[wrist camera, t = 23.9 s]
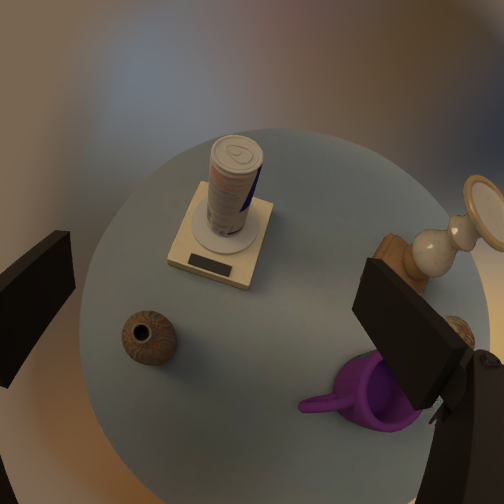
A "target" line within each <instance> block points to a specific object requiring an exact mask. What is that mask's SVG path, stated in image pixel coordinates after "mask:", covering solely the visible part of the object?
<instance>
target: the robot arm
mask: <svg viewBox="0 0 504 504" xmlns="http://www.w3.org/2000/svg"><path fill="white" fill-rule="evenodd" d="M75 288H76V287H75V279H74V271H73V263H72V253H71V242H70V231H59V230H55V231H54V232H52V233H51V234H50V235H48V236H47V237H46V238H44V239H43V240H42V241H41V242H39V243H38V244H37V245H35V246H34V247H33V248H32V249H30V250H29V251H28V252H27V253H25V254H24V255H23V256H22V257H20V258H19V259H18V260H17V261H15V262H14V263H13V264H12V265H11V266H9V267H8V268H7V269H6V270H5V271H4V272H2V273H1V274H0V386H2V387H5V388H7V389H8V387H9V386H10V384H11V382H12V381H13V379H14V377H15V376H16V374H17V372H18V371H19V369H20V368H21V366H22V364H23V363H24V361H25V360H26V358H27V356H28V355H29V353H30V352H31V350H32V349H33V347H34V346H35V344H36V343H37V341H38V340H39V338H40V336H41V335H42V334H43V332H44V331H45V329H46V328H47V326H48V325H49V324H50V322H51V321H52V319H53V318H54V317H55V315H56V314H57V312H58V311H59V310H60V308H61V307H62V305H63V304H64V303H65V301H66V300H67V299H68V297H69V296H70V295H71V293H72V292H73V290H75ZM352 311H353V312H354V314H355V315H356V317H357V319H358V320H359V322H360V323H361V325H362V326H363V328H364V329H365V331H366V332H367V334H368V335H369V337H370V339H371V340H372V342H373V343H374V345H375V346H376V348H377V350H378V351H379V353H380V354H381V356H382V358H383V359H384V361H385V362H386V364H387V366H388V367H389V369H390V370H391V372H392V374H393V375H394V377H395V379H396V380H397V382H398V383H399V385H400V387H401V388H402V390H403V392H404V393H405V395H406V397H407V398H408V400H409V402H410V404H411V405H412V407H413V409H414V410H415V411H419V410H423V409H427V408H431V407H432V405H433V404H434V403H435V401H436V400H437V398H438V397H439V395H440V396H441V398H442V399H443V403H442V404H441V406H440V407H439V409H438V410H437V411H436V413H435V414H434V415H433V417H432V418H431V419H430V421H429V424H432V422H433V421H434V420H435V419H437V422H436V424H435V426H436V427H435V432H434V436H433V441H432V445H431V449H430V453H429V457H428V461H427V465H426V469H425V472H424V476H423V479H422V482H421V486H420V489H419V492H418V495H417V498H416V501H415V504H504V365H503V364H502V363H501V362H500V360H499V359H498V358H497V357H496V356H495V355H494V354H492V353H490V352H488V351H486V350H476V351H474V350H473V349H472V348H471V347H470V346H469V345H468V344H467V343H466V342H465V340H464V339H463V338H462V337H461V336H460V335H459V334H458V333H457V332H455V330H454V329H453V328H452V327H451V326H449V324H448V322H447V321H446V320H445V319H444V318H443V317H441V316H440V315H439V314H438V313H437V312H436V311H435V310H434V309H433V308H432V307H431V306H430V305H429V304H428V303H427V302H426V301H425V300H424V299H423V298H422V297H421V296H420V295H419V294H418V293H417V292H416V291H415V290H414V289H413V288H412V287H411V286H409V285H408V284H407V283H406V282H405V281H404V280H403V279H402V278H401V277H400V276H399V275H398V274H397V273H396V272H395V271H394V270H393V269H392V268H390V267H389V266H388V265H387V264H386V263H385V262H384V261H383V260H382V259H377V258H367V261H366V264H365V268H364V271H363V275H362V278H361V281H360V285H359V288H358V291H357V294H356V298H355V301H354V304H353V307H352ZM0 504H18V502H17V499H16V497H15V494H14V492H13V489H12V487H11V484H10V482H9V479H8V476H7V474H6V471H5V468H4V465H3V462H2V459H1V456H0Z"/></svg>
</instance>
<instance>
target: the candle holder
mask: <svg viewBox="0 0 504 504" xmlns="http://www.w3.org/2000/svg"><path fill="white" fill-rule="evenodd" d="M463 196H464V202H465V206H466V209H467V212H468V213H467V214H466V215H464V216H460V215H455V216H453V217H452V218H451V219H450V221H449V225H448V229H447V230H436V229H427V230H424V231H422V232H420V233H419V234H418V235H417V236H416V237H415V239H414V241H413V244H411V245H409V244H408V243H407V242H406V241H404V240H403V239H402V238H401V237H399V236H397V235H396V236H394V235H393V234H392V233H390V234H389V235H387V236H386V237H385V238H384V239H383V241H382V242H381V244H380V246H379V247H378V249H377V251H376V252H375V254H374V256H373V257H372V258H377V259H382V260H383V261H384V262H385V263H386V264H387V265H388V266H389V267H390V268H392V269H393V270H394V271H395V272H396V273H397V274H398V275H399V276H400V277H401V278H402V279H403V280H404V281H405V282H406V283H407V284H408V285H409V286H411V287H412V288H413V289H414V290H415V291H416V292H417V293H418V294H419V295H420V296H421V295H422V293H423V291H424V288H425V286H426V284H427V281H428V279H429V278H430V277H432V278H437V277H441V276H443V275H444V274H446V273H447V272H448V270H449V269H450V268H451V266H452V264H453V261H454V258H455V255H456V253H457V251H458V250H460V251H465V252H469V251H471V250H473V248H474V247H475V244H476V241H477V239H478V238H480V237H482V238H483V239H484V241H486V243H487V244H488V245H490V246H491V247H492V248H494V249H495V250H497V251H500V252H504V196H503V195H502V194H501V192H500V191H499V190H498V189H497V187H496V186H495V185H494V184H493V183H491V182H490V181H489V180H488V179H486V178H484V177H483V176H479V175H472V176H470V177H469V178H468V179H467V180H466V181H465V183H464V188H463ZM362 275H363V274H362ZM361 278H362V276H361ZM361 278H360V280H361Z"/></svg>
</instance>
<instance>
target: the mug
mask: <svg viewBox="0 0 504 504" xmlns="http://www.w3.org/2000/svg"><path fill="white" fill-rule="evenodd" d="M298 409H299V410H300V411H301V412H302V413H321V412H330V411H336V410H339V412H340V413H341V414H342V415H343V416H344V417H345V418H346V419H348V420H349V421H351V422H353V423H355V424H357V425H359V426H362V427H365V428H368V429H372V430H376V431H380V432H395V431H399V430H402V429H403V428H405V427H407V426H409V425H410V424H411V423H412V422H414V421H415V420H416V419H417V418H418V417H419V415H420V414H421V412H422V410H419V411H415V410H414V409H413V407H412V405H411V404H410V402H409V400H408V398H407V397H406V395H405V393H404V392H403V390H402V388H401V387H400V385H399V383H398V382H397V380H396V379H395V377H394V375H393V374H392V372H391V370H390V369H389V367H388V366H387V364H386V362H385V361H384V359H383V358H382V356H381V354H380V353H379V351H378V350H377V349H376V350H373V351H370V352H367V353H364V354H361V355H359V356H357V357H355V358H353V359H352V360H350V361H349V362H347V363H346V364H345V365H344V366H343V368H342V369H341V370H340V372H339V374H338V376H337V378H336V380H335V384H334V393H333V394H328V395H322V396H317V397H313V398H309V399H305V400H303V401H301V402H300V403H299V405H298Z"/></svg>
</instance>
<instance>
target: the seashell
mask: <svg viewBox="0 0 504 504" xmlns="http://www.w3.org/2000/svg"><path fill="white" fill-rule="evenodd" d="M445 320H446V321H447V322H448V324H449V326H451V327H452V328H453V329H454V330H455V332H457V333H458V334H459V335H460V336H461V337H462V338H463V339H464V340H465V342H466V343H467V344H468V345H469V346H470V347H471V348H472V349H474V345H475V342H474V336H473V333H472V332H471V330H470V328H469V326H468V324H467V323H466V322H465V321H464V320H462V319H461V318H459V317H455V316H449V317H447V318H445Z"/></svg>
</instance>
